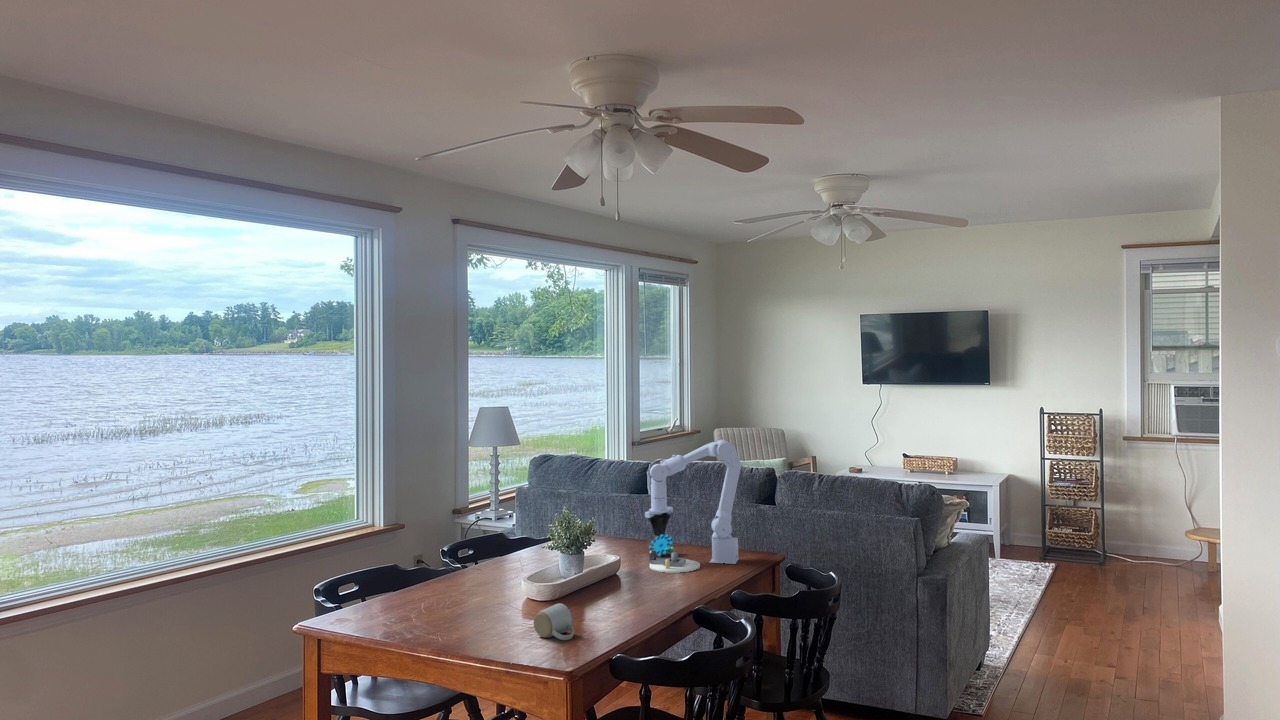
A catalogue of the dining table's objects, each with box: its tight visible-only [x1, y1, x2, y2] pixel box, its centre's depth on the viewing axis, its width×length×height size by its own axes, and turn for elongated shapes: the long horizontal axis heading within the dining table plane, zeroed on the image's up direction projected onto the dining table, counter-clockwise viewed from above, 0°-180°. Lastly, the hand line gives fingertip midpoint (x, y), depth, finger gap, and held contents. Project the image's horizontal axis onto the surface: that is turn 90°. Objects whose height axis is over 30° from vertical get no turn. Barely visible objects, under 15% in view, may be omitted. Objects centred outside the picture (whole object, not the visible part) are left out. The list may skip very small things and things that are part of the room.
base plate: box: [649, 551, 701, 574], centre depth 310 cm, size 18×18×5 cm
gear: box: [648, 533, 675, 558], centre depth 331 cm, size 11×6×10 cm
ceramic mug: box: [533, 603, 575, 641], centre depth 233 cm, size 11×8×8 cm
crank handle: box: [649, 549, 687, 566], centre depth 311 cm, size 13×7×4 cm, turn 75°
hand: (659, 534), depth 316 cm, fingers open, 2 cm apart
